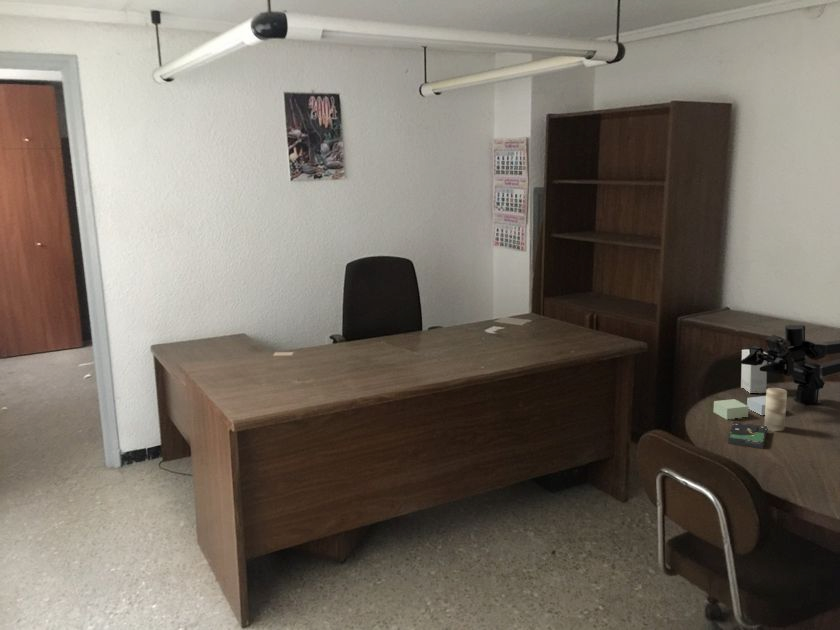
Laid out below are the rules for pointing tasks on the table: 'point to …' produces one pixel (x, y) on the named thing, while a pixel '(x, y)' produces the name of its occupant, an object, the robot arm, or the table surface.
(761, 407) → the blue-grey block
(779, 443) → the table surface
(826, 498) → the table surface
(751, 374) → the skincare box
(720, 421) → the table surface
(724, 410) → the sage block
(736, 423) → the disk drive
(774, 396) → the birch cylinder
